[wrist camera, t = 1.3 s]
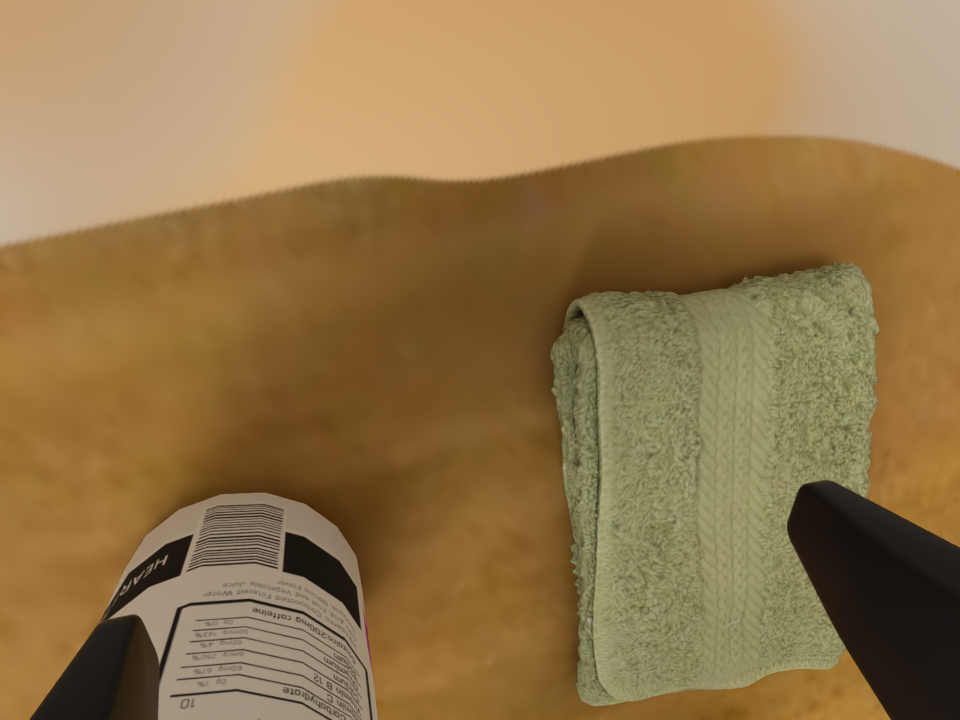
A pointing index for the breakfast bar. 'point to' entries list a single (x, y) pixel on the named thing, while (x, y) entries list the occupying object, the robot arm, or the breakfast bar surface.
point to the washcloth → (707, 473)
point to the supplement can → (252, 613)
